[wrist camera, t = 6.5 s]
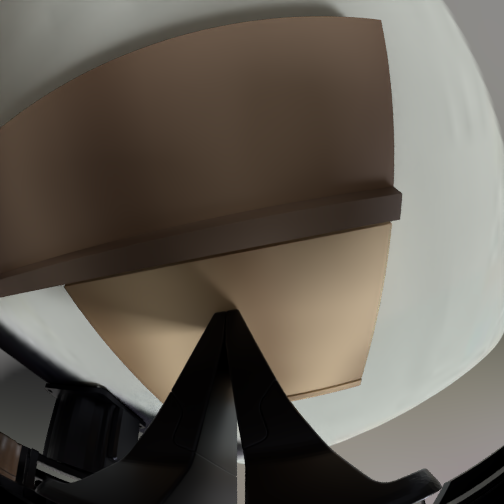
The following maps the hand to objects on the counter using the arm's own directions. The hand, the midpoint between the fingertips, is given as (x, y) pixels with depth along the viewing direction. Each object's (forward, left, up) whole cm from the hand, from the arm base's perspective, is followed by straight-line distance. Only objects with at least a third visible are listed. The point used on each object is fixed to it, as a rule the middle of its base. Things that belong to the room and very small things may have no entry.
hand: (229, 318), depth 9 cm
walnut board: (-3, +6, -2) cm, 6 cm away
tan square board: (0, -3, -2) cm, 3 cm away
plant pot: (-82, -49, -2) cm, 95 cm away
